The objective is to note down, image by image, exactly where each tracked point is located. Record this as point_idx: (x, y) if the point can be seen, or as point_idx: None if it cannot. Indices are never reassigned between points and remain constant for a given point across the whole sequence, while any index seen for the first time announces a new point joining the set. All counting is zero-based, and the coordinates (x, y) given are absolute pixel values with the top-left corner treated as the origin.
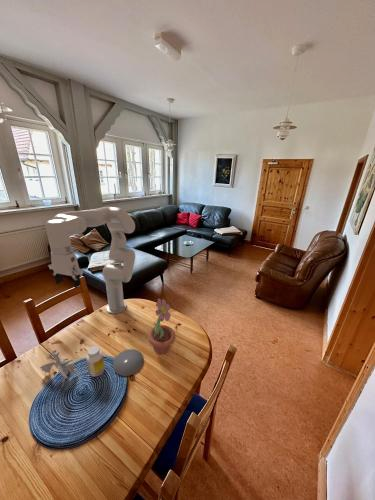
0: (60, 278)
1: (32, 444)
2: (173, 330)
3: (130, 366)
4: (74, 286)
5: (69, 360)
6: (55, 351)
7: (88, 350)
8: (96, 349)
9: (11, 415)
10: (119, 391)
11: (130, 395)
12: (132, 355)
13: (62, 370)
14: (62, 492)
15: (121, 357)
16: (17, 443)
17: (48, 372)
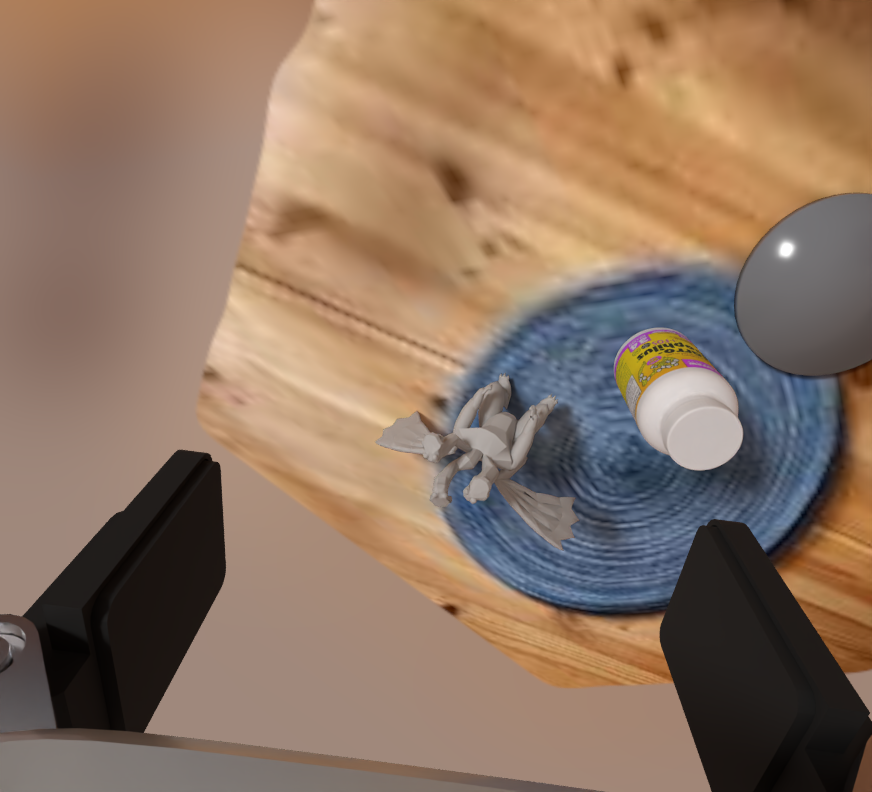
0: (177, 562)
1: (545, 613)
2: None
3: (853, 322)
4: (679, 672)
5: (530, 430)
6: (441, 445)
7: (672, 447)
8: (724, 433)
9: (405, 561)
10: (805, 442)
11: (864, 451)
12: (858, 246)
13: (538, 498)
14: None
15: (783, 272)
16: (496, 615)
17: (412, 417)
